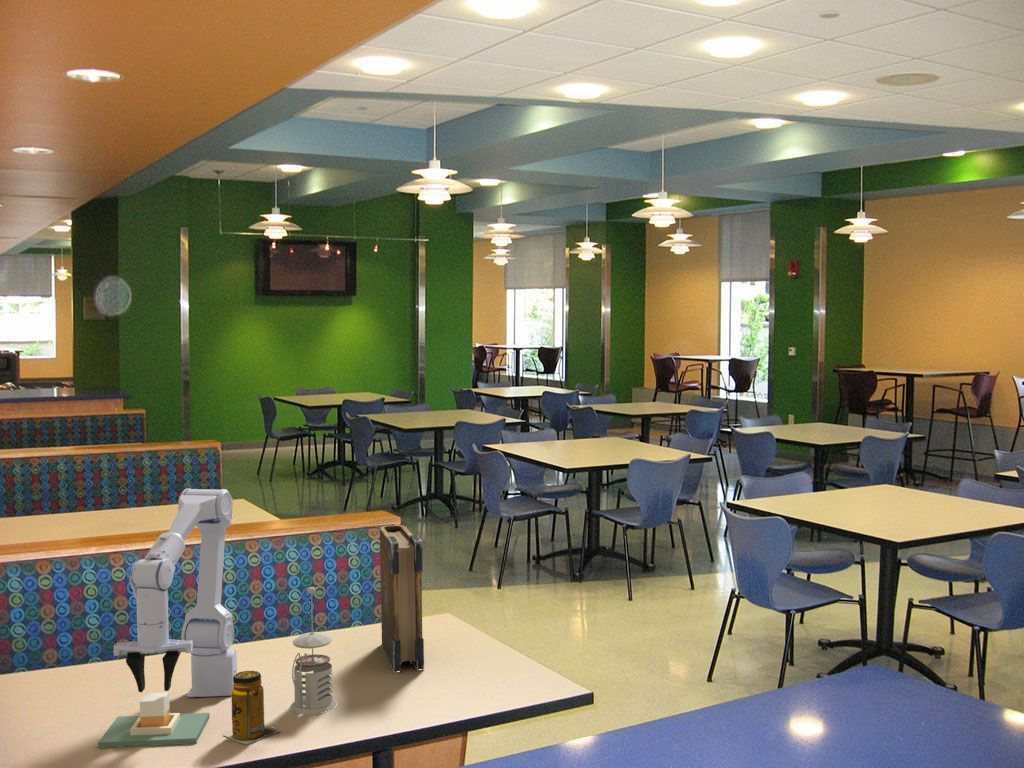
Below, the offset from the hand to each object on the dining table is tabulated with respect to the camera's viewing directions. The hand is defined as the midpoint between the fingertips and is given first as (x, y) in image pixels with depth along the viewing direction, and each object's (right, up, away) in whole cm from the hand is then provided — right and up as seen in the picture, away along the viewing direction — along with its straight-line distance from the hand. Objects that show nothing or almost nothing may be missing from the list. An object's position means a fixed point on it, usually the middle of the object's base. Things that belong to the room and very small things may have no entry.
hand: (154, 689), depth 200 cm
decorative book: (+43, -6, +46) cm, 63 cm away
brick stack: (0, -7, 0) cm, 7 cm away
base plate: (0, -8, +1) cm, 8 cm away
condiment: (+19, -9, -1) cm, 21 cm away
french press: (+28, -8, +13) cm, 32 cm away
